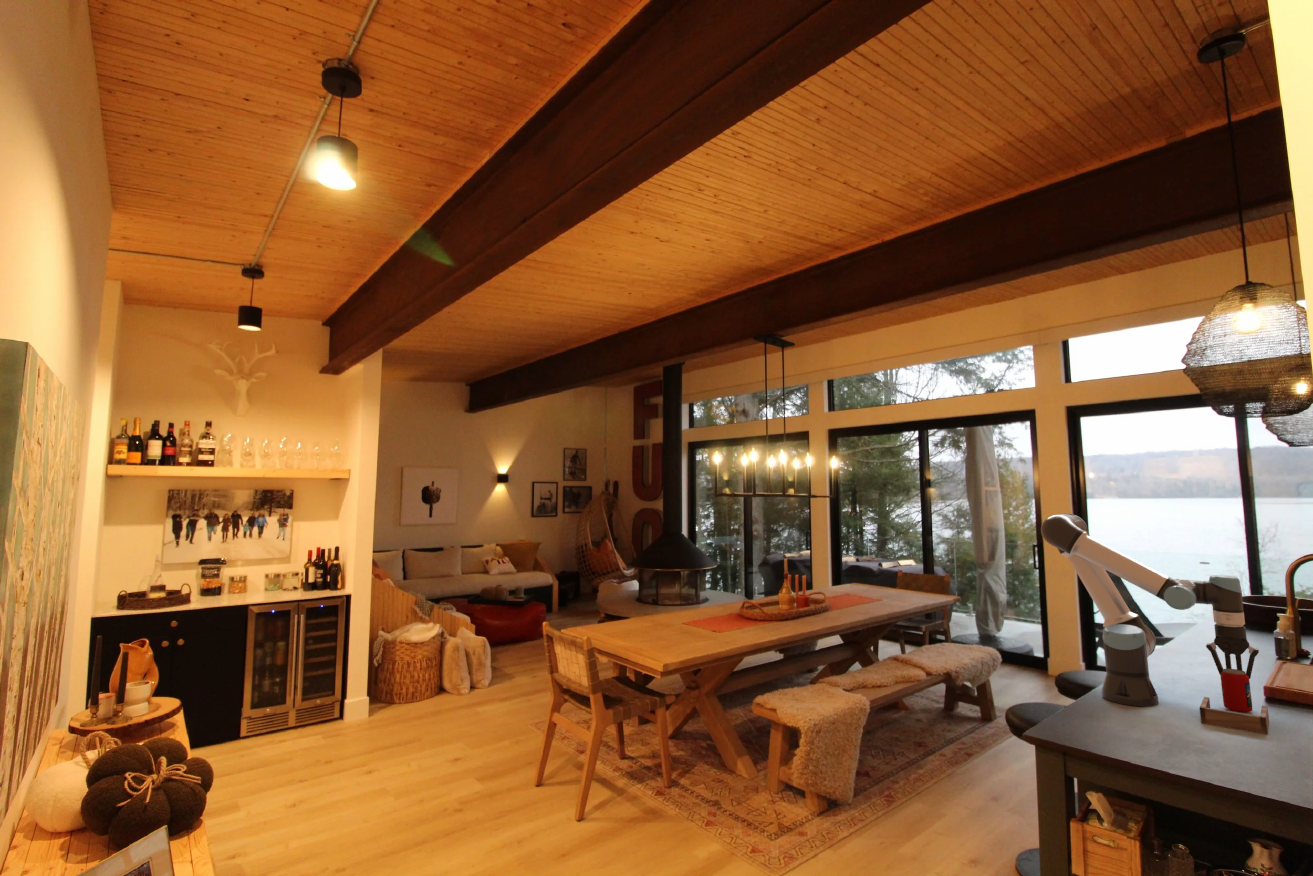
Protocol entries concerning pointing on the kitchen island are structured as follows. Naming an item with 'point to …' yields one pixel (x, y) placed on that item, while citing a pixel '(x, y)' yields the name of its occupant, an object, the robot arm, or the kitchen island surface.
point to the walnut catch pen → (1234, 718)
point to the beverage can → (1236, 690)
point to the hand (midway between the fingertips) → (1237, 700)
